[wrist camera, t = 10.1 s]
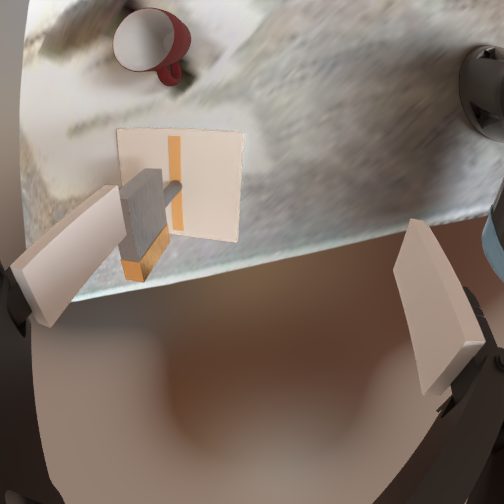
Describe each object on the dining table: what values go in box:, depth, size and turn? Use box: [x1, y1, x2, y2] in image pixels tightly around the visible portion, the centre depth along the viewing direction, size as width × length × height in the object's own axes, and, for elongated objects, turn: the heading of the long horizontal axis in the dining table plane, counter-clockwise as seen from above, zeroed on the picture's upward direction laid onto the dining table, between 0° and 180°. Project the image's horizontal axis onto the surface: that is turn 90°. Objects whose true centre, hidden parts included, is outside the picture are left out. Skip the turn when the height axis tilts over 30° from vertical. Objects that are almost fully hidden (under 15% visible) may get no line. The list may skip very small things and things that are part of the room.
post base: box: [117, 128, 244, 243], centre depth 43 cm, size 20×18×8 cm
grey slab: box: [118, 168, 170, 282], centre depth 36 cm, size 11×3×9 cm, turn 178°
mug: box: [113, 8, 191, 86], centre depth 30 cm, size 11×8×10 cm
